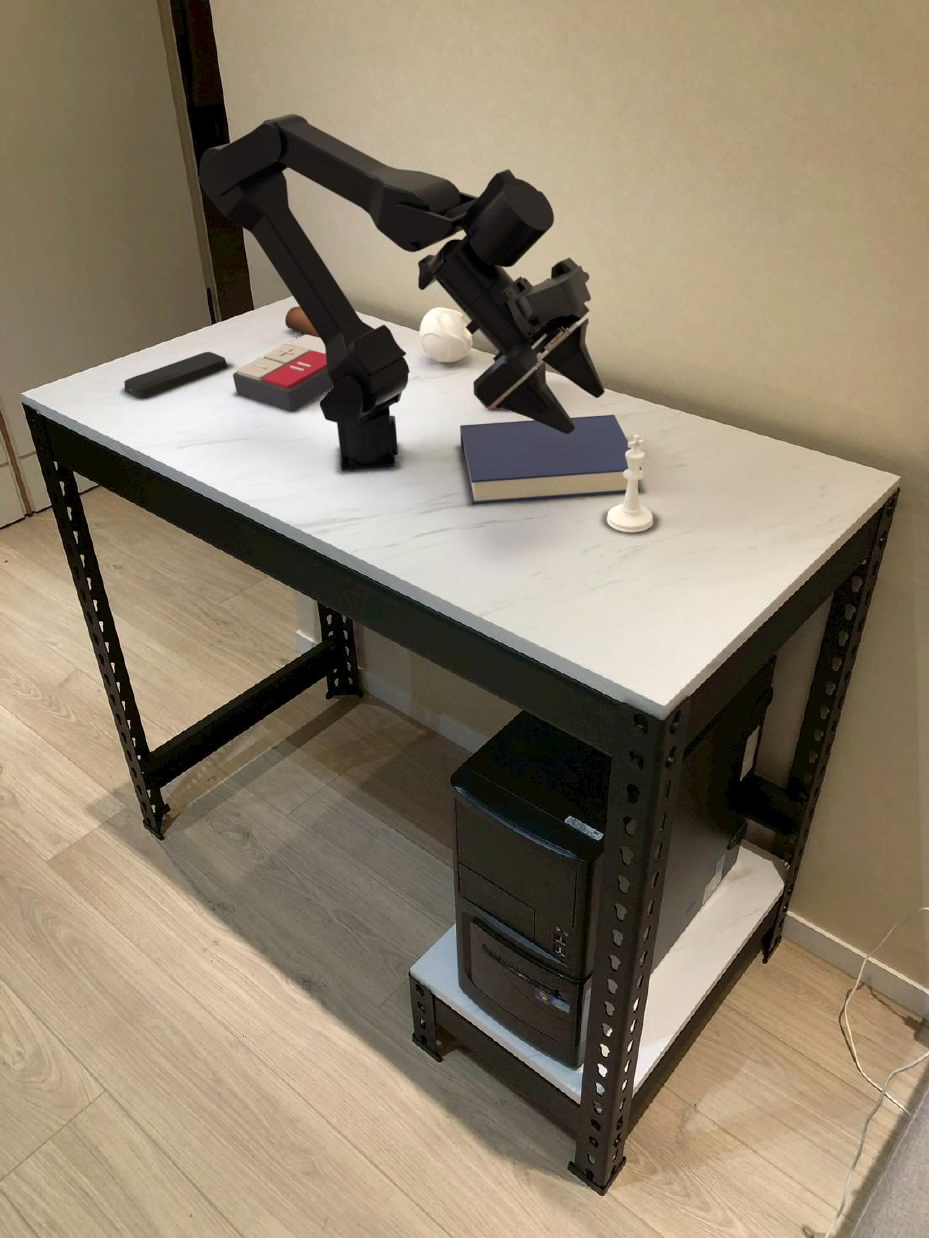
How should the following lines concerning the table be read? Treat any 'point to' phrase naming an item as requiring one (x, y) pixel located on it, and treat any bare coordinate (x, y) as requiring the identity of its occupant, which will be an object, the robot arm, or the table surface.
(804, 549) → the table surface
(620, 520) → the chess piece
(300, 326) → the sunglasses case
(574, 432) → the blue book
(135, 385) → the remote control
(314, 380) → the calculator
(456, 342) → the white ball
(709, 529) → the table surface
